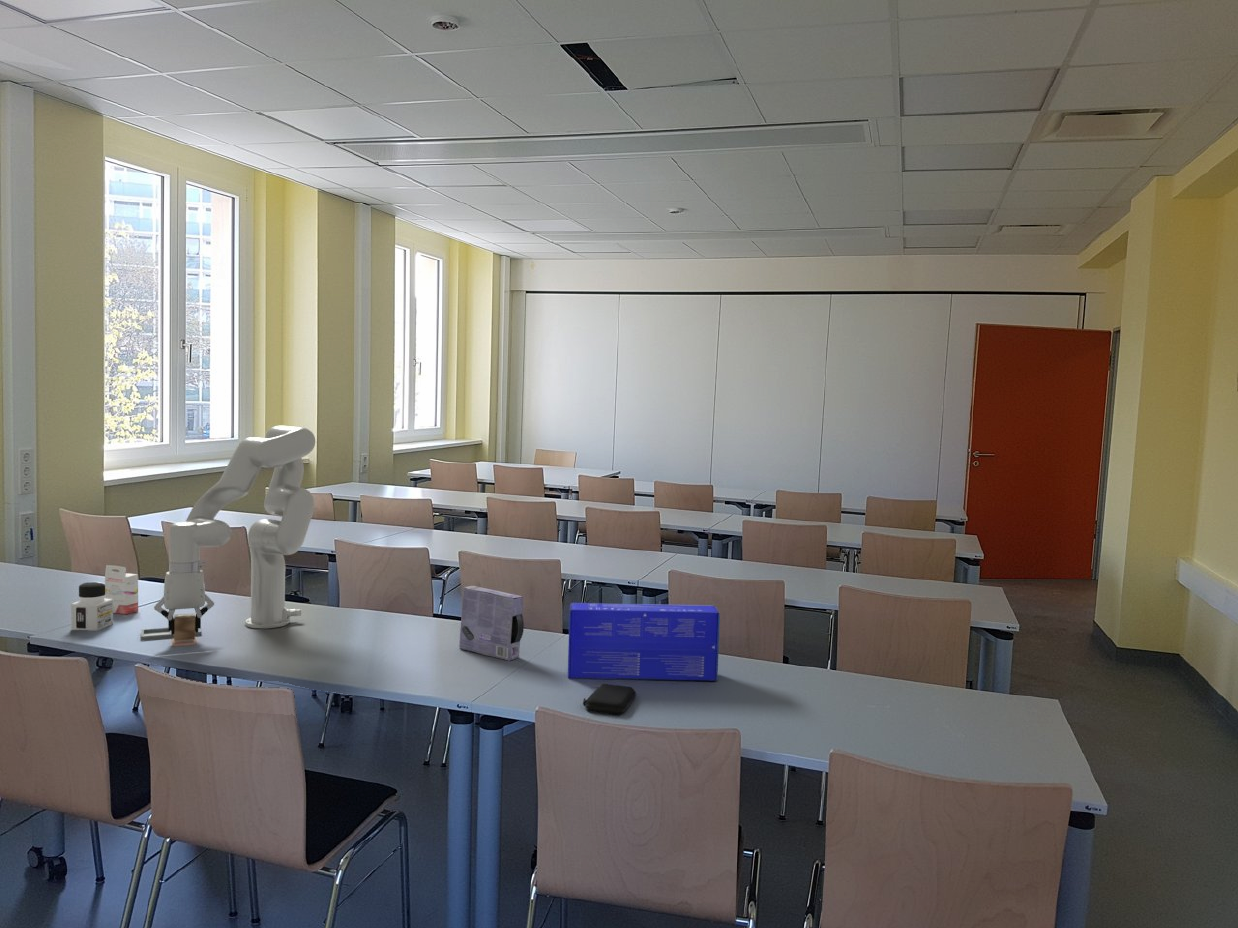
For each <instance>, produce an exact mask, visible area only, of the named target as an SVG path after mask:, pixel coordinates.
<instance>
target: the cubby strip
mask: <svg viewBox="0 0 1238 928" xmlns="http://www.w3.org/2000/svg"><path fill="white" fill-rule="evenodd" d="M199 636H202V627H201V628H199V629H198V632H195V637H199ZM162 639H174V634H173V635H171V631H168V627H159V628H158V627H157V628H156V627H155V628H143V629H141V630H140V641H151V640H162Z"/></svg>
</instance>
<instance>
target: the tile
mask: <svg viewBox="0 0 1238 928" xmlns="http://www.w3.org/2000/svg"><path fill="white" fill-rule="evenodd" d="M171 645H172V647H175V646H176V647H177V646H178V647H179V646H189V645H190V646H191V645H198V641H197V636H195V639H191V640H177V641H174V638H171Z"/></svg>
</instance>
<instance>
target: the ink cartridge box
mask: <svg viewBox="0 0 1238 928" xmlns="http://www.w3.org/2000/svg"><path fill="white" fill-rule="evenodd" d="M113 570H117V571H113ZM104 584H105V598H104V599H113V614H120V615H129V614H134V613H137V612H139V574H137V573H127V567H126V566H119V565H111V564H110V565H109V564H106V565H105V575H104Z"/></svg>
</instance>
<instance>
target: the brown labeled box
mask: <svg viewBox="0 0 1238 928" xmlns="http://www.w3.org/2000/svg"><path fill="white" fill-rule="evenodd" d="M195 617H196V613H194V612H193V613H180V614H174V615H173V618H174V638H173V639H174V641H177V640H191V639H195V637H196V636H195Z"/></svg>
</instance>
